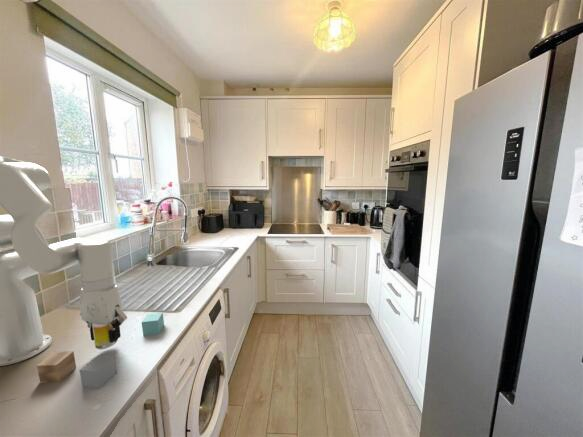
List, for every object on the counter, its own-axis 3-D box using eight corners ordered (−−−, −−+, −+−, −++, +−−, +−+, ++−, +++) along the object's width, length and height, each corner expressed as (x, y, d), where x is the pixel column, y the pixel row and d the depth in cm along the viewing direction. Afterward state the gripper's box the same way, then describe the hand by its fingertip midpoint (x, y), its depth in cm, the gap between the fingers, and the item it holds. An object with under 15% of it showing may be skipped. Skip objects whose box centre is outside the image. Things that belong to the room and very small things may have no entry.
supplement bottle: (120, 344, 74) (116, 313, 72) (97, 353, 69) (92, 321, 68) (115, 335, 77) (112, 306, 76) (93, 344, 73) (89, 313, 72)
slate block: (82, 387, 61) (79, 369, 60) (101, 371, 66) (98, 355, 65) (99, 389, 60) (96, 371, 59) (116, 373, 65) (114, 357, 64)
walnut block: (40, 382, 62) (36, 365, 62) (58, 367, 67) (55, 351, 67) (59, 382, 63) (56, 365, 62) (76, 367, 67) (73, 351, 67)
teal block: (143, 335, 81) (141, 322, 80) (149, 326, 85) (147, 314, 85) (159, 333, 82) (157, 320, 81) (164, 325, 86) (162, 312, 86)
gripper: (60, 285, 68) (69, 343, 71) (113, 291, 65) (120, 350, 68) (86, 275, 75) (93, 328, 78) (135, 279, 72) (140, 334, 75)
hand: (106, 338), depth 73 cm, fingers closed on supplement bottle, 5 cm apart
